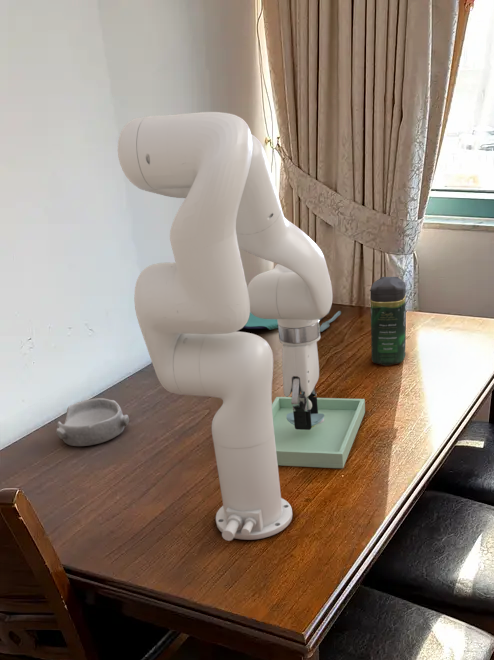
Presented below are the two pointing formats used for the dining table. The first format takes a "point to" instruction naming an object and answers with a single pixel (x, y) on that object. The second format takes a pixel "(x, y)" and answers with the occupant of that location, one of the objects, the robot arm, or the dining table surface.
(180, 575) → the dining table surface
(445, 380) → the dining table surface
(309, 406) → the pacifier
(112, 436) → the dish
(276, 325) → the cutlery set
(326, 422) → the tray
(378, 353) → the coffee jar
